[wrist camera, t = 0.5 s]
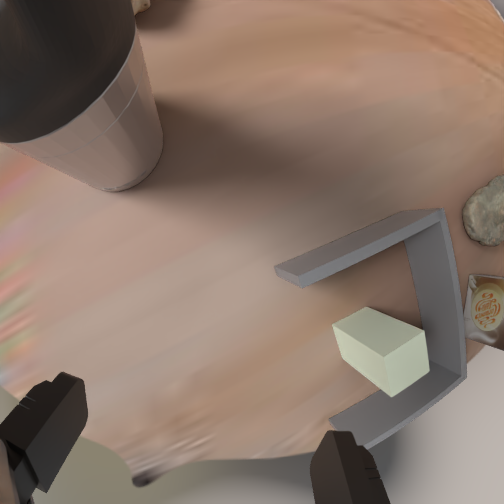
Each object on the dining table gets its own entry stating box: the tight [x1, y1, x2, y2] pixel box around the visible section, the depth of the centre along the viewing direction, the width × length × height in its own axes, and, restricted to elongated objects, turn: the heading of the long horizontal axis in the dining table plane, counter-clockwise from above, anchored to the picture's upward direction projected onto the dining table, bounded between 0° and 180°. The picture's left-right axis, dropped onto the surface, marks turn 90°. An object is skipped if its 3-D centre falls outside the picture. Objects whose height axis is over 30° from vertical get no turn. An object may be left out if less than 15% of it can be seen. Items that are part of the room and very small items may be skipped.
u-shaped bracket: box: [274, 208, 467, 449], centre depth 29 cm, size 21×16×7 cm
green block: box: [332, 307, 430, 397], centre depth 27 cm, size 4×4×10 cm
